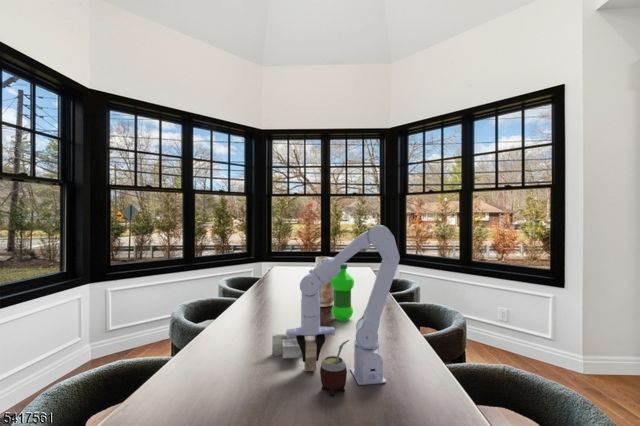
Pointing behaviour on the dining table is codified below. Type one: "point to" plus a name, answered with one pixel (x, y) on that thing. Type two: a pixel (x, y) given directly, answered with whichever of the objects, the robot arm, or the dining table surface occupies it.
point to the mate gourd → (334, 373)
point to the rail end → (310, 355)
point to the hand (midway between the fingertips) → (310, 360)
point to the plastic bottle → (342, 294)
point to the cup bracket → (286, 346)
